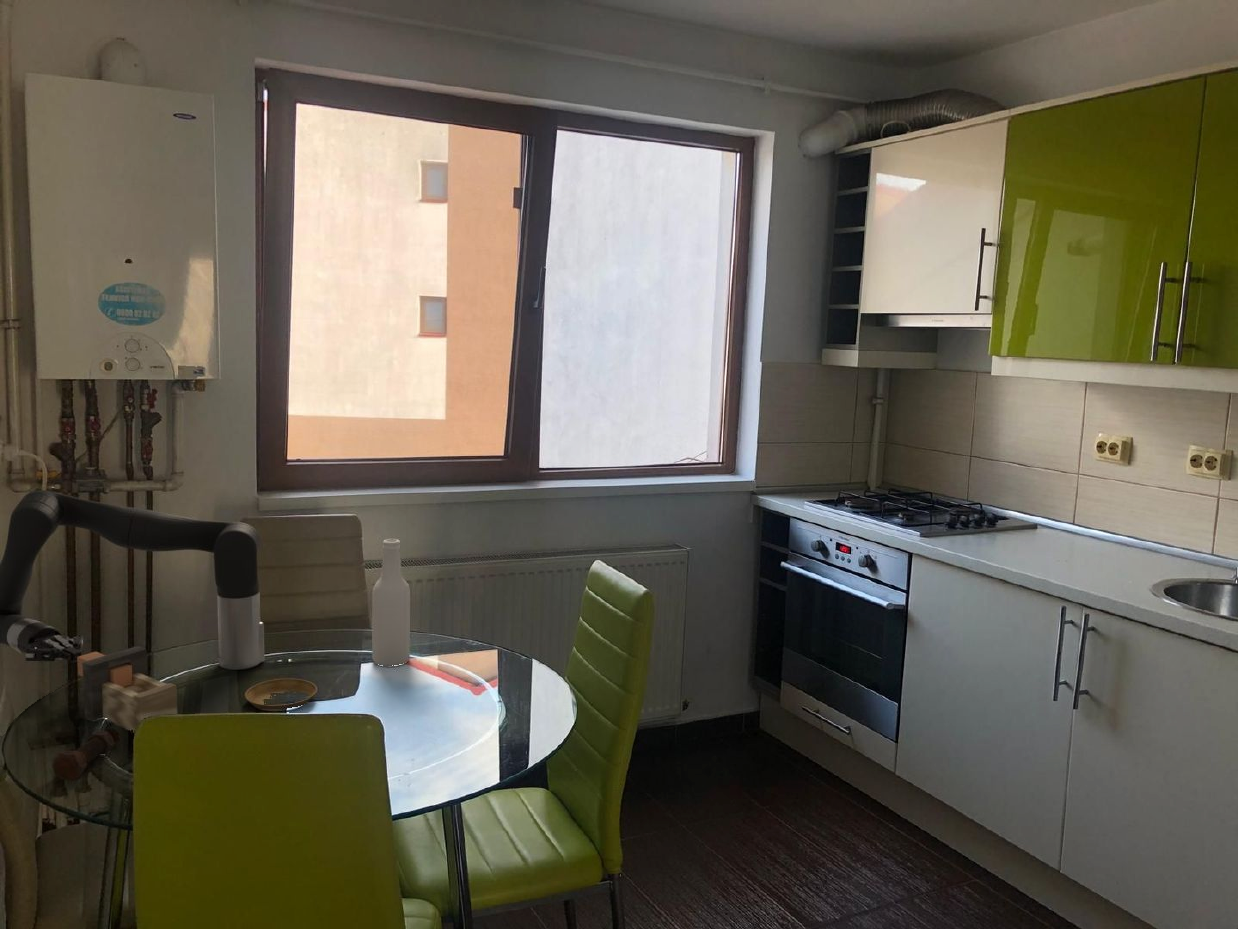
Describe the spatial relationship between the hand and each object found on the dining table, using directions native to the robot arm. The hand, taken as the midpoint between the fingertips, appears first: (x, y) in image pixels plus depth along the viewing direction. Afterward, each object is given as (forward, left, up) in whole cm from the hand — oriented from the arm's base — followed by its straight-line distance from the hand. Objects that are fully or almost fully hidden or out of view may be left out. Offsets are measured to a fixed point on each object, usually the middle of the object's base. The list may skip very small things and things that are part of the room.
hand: (77, 657), depth 214 cm
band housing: (-4, +20, -8) cm, 22 cm away
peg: (-2, +10, -3) cm, 10 cm away
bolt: (+10, +33, -9) cm, 35 cm away
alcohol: (-61, +28, -9) cm, 67 cm away
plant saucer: (-30, +32, -9) cm, 44 cm away
